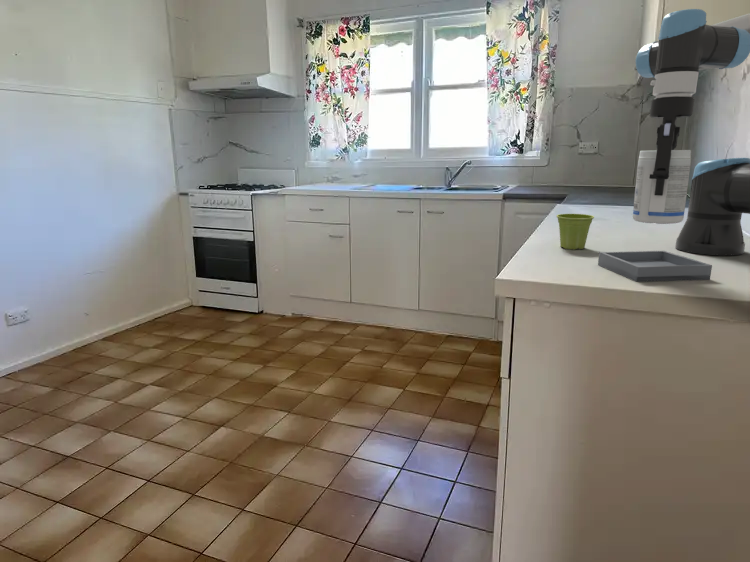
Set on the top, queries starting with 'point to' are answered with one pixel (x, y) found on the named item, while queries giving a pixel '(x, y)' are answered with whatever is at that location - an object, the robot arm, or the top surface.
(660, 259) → the tray
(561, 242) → the plant pot
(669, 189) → the supplement tub
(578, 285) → the top surface
